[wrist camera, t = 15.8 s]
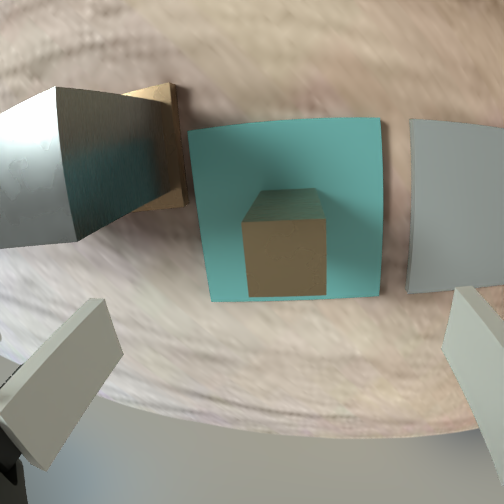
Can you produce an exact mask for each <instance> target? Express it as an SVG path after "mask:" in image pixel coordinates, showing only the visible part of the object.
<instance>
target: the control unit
mask: <svg viewBox="0 0 504 504" xmlns="http://www.w3.org/2000/svg"><path fill="white" fill-rule="evenodd" d="M188 204H189V198H188V190H187V183H186V175H185V167H184V159H183V151H182V142H181V133H180V124H179V115H178V105H177V94H176V85H175V84H172V83H165V84H161V85H157V86H152V87H148V88H144V89H140V90H137V91H133V92H129V93H125V94H122V95H121V94H114V93H107V92H99V91H92V90H83V89H74V88H63V87H54V88H51V89H49V90H47V91H45V92H43V93H41V94H38V95H36V96H34V97H32V98H30V99H28V100H26V101H24V102H22V103H20V104H18V105H17V106H15V107H13V108H11V109H9V110H7V111H5V112H4V113H2V114H0V249H4V248H14V247H25V246H35V245H46V244H58V243H69V242H78V241H80V240H81V239H83V238H85V237H86V236H88V235H90V234H92V233H93V232H95V231H97V230H99V229H101V228H102V227H104V226H106V225H108V224H109V223H111V222H113V221H115V220H117V219H119V218H120V217H122V216H124V215H126V214H128V213H131V212H140V211H149V210H159V209H169V208H180V207H185V206H186V205H188Z"/></svg>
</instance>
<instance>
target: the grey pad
mask: <svg viewBox="0 0 504 504" xmlns="http://www.w3.org/2000/svg"><path fill="white" fill-rule="evenodd" d="M409 122H410V139H411V180H412V184H411V225H410V243H409V256H408V268H407V278H406V287H405V290H406V291H407V293H408V294H414V293H426V292H438V291H449V290H455V287H463V286H473V287H474V288H479V287H488V286H497V285H504V128H497V127H491V126H483V125H476V124H467V123H458V122H448V121H436V120H422V119H409Z"/></svg>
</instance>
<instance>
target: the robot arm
mask: <svg viewBox="0 0 504 504" xmlns="http://www.w3.org/2000/svg"><path fill="white" fill-rule="evenodd" d="M441 349H442V351H443V353H444V355H445V357H446V359H447V361H448V363H449V365H450V367H451V369H452V371H453V372H454V374H455V376H456V378H457V380H458V383H459V385H460V387H461V389H462V391H463V393H464V395H465V397H466V399H467V401H468V403H469V406H470V408H471V410H472V412H473V414H474V417H475V419H476V421H477V423H478V426H479V428H480V430H481V433H482V435H483V437H484V440H485V442H486V445H487V447H488V450H489V452H490V455H491V458H492V460H493V463H494V465H495V468H496V471H497V474H498V476H499V479H500V482H501V485H502V486H504V321H503V320H502V319H501V317H500V316H499V315H498V314H497V313H496V312H495V310H494V309H493V308H492V307H491V306H490V305H489V304H488V302H487V301H486V300H485V299H484V298H483V297H482V296H481V295H480V294H479V293H478V291H477V290H476V289H475V288H474V287H473V286H463V287H455V291H454V296H453V301H452V306H451V311H450V316H449V320H448V324H447V329H446V333H445V337H444V340H443V344H442V348H441ZM123 355H124V354H123V351H122V349H121V346H120V343H119V340H118V338H117V335H116V332H115V329H114V326H113V323H112V320H111V317H110V314H109V311H108V308H107V305H106V302H105V299H95V298H90V299H89V300H88V301H87V302H86V303H84V304H83V305H82V306H81V307H80V308H79V309H78V310H77V311H76V312H75V313H74V314H73V315H72V316H71V317H70V318H69V319H68V320H67V321H66V322H65V323H64V324H63V325H62V326H61V327H60V328H59V329H58V330H57V331H56V332H55V333H54V334H53V335H52V336H51V337H50V338H49V339H48V340H47V341H46V342H45V343H44V344H43V345H42V346H41V347H40V348H39V349H38V350H37V351H36V352H35V353H34V354H33V355H32V356H31V357H30V358H29V359H28V360H27V361H26V362H25V363H23V364H22V365H20V366H19V367H18V369H17V370H16V371H15V372H14V373H13V374H12V376H10V377H9V378H8V379H7V380H6V383H4V384H3V385H2V386H1V387H0V504H28V501H27V495H26V488H25V480H24V470H23V465H22V462H21V461H20V460H19V457H20V455H21V454H23V456H24V457H25V458H26V459H27V460H28V461H29V462H30V464H32V465H33V466H36V467H37V468H40V469H42V470H44V471H47V470H48V469H49V467H50V466H51V464H52V462H53V460H54V459H55V457H56V456H57V454H58V453H59V451H60V450H61V448H62V446H63V445H64V443H65V442H66V440H67V438H68V437H69V435H70V434H71V432H72V431H73V429H74V428H75V426H76V424H77V423H78V421H79V420H80V418H81V417H82V415H83V413H84V412H85V411H86V409H87V407H88V406H89V405H90V403H91V402H92V400H93V399H94V397H95V396H96V394H97V393H98V391H99V390H100V388H101V387H102V385H103V384H104V382H105V381H106V379H107V378H108V376H109V375H110V373H111V372H112V371H113V369H114V368H115V366H116V365H117V363H118V362H119V360H120V359H121V358H122V356H123Z"/></svg>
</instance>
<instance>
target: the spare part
mask: <svg viewBox="0 0 504 504" xmlns="http://www.w3.org/2000/svg"><path fill="white" fill-rule="evenodd" d="M241 227H242V237H243V247H244V256H245V266H246V276H247V285H248V295H249V297H291V296H322V295H326V292H327V245H326V217H325V214H324V211H323V209H322V206H321V203H320V200H319V197H318V194H317V191H316V189H315V188H304V189H282V190H265V191H260V193H259V194H258V196H257V198H256V199H255V201H254V202H253V204H252V206H251V207H250V209H249V210H248V212H247V214H246V215H245V217H244V219H243V220H242V222H241Z"/></svg>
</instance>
